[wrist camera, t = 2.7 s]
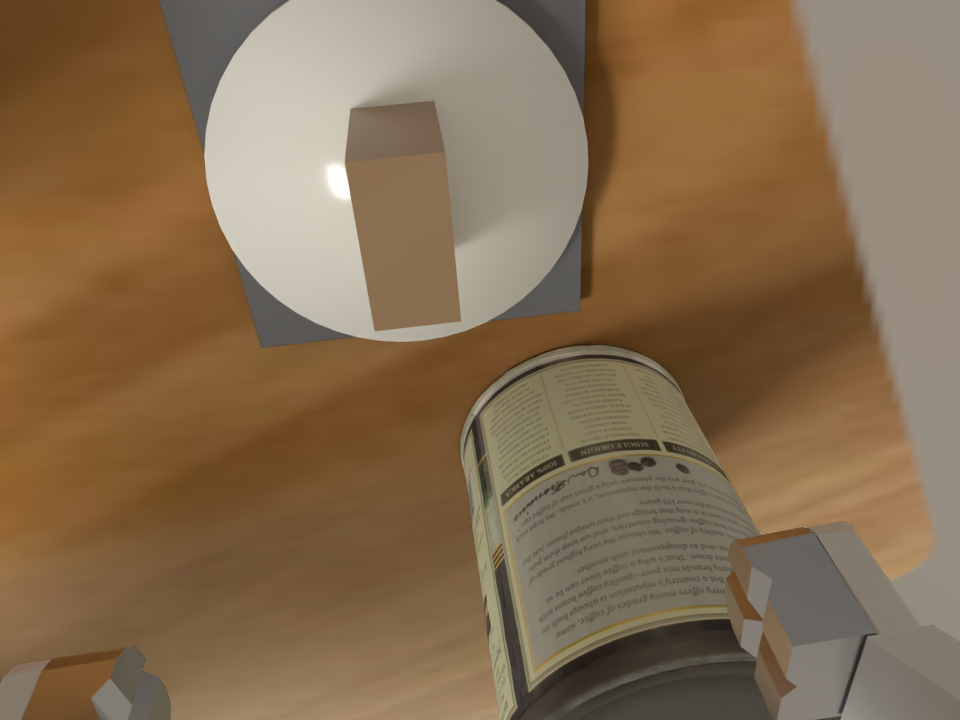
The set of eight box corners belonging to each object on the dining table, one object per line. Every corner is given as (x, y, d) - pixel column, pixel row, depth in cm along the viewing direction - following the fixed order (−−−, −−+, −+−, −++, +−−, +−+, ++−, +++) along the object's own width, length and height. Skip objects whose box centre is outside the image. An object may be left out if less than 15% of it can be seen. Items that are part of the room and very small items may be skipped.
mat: (576, 302, 28) (580, 310, 27) (263, 338, 27) (261, 347, 27) (581, -53, 21) (586, -51, 20) (161, -15, 20) (155, -12, 20)
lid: (579, 310, 27) (617, 396, 23) (261, 347, 27) (238, 442, 23) (586, -50, 20) (642, -24, 16) (155, -12, 20) (94, 26, 16)
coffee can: (722, 450, 34) (899, 762, 22) (533, 547, 36) (604, 872, 25) (627, 295, 28) (797, 603, 17) (411, 422, 31) (430, 766, 19)
